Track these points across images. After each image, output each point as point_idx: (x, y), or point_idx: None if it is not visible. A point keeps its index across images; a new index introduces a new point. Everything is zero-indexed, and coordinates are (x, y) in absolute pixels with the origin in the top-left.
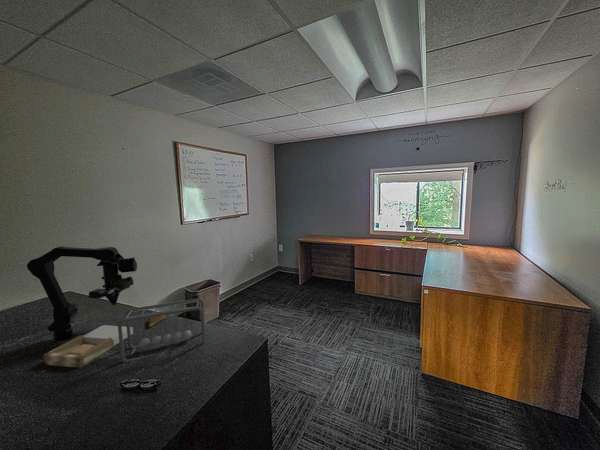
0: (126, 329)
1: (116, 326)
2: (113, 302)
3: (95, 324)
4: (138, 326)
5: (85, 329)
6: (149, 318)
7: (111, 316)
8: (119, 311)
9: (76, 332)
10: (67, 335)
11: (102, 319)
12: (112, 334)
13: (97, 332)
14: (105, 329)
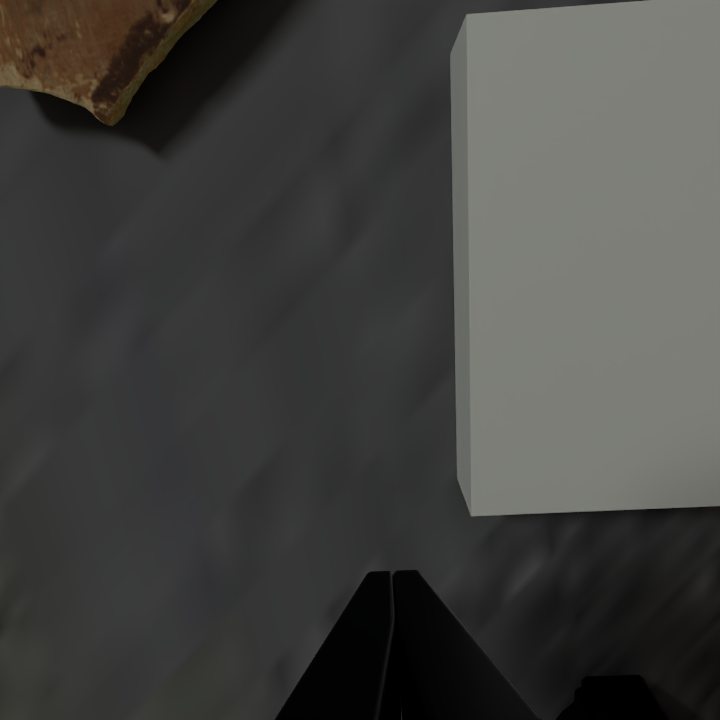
0: (542, 53)
1: (479, 303)
2: (461, 635)
3: None
4: (288, 143)
5: None
6: (123, 68)
7: (172, 682)
8: (56, 701)
9: None
10: (651, 708)
11: (250, 711)
12: (690, 144)
13: (651, 410)
14: (571, 378)
